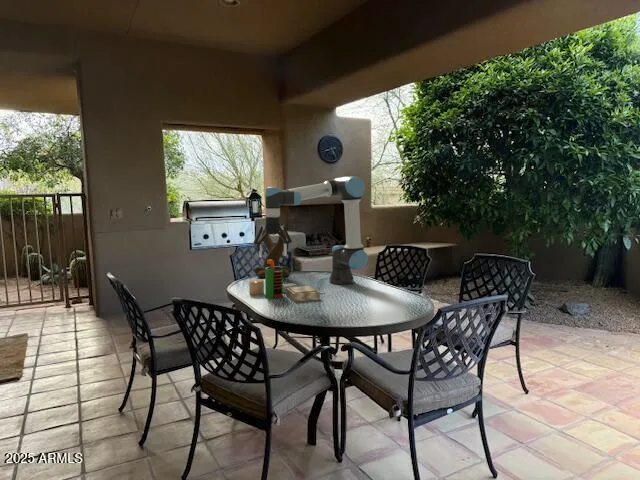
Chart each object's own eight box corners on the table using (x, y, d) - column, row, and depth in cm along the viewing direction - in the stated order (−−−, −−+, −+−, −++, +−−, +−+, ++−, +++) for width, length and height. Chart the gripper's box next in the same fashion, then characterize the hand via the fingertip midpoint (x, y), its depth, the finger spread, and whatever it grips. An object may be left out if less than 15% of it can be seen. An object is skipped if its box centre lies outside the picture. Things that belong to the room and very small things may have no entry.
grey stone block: (291, 290, 250) (291, 283, 249) (296, 291, 246) (296, 284, 245) (280, 292, 245) (280, 285, 244) (285, 293, 241) (285, 286, 240)
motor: (279, 299, 227) (278, 261, 225) (262, 298, 229) (262, 261, 226) (284, 294, 237) (284, 258, 235) (268, 294, 239) (268, 258, 236)
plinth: (310, 293, 240) (310, 285, 240) (319, 299, 227) (319, 290, 227) (286, 295, 235) (286, 287, 235) (294, 301, 222) (294, 292, 222)
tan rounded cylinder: (262, 291, 245) (262, 279, 244) (265, 294, 237) (265, 282, 237) (248, 292, 242) (247, 280, 241) (251, 296, 234) (250, 283, 234)
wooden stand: (301, 274, 295) (301, 223, 291) (268, 280, 274) (267, 225, 270) (274, 269, 315) (274, 220, 311) (241, 274, 295) (240, 223, 291)
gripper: (293, 215, 236) (293, 254, 238) (247, 216, 227) (248, 256, 229) (297, 216, 229) (297, 256, 231) (250, 217, 220) (251, 258, 222)
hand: (272, 256), depth 230 cm, fingers open, 13 cm apart
